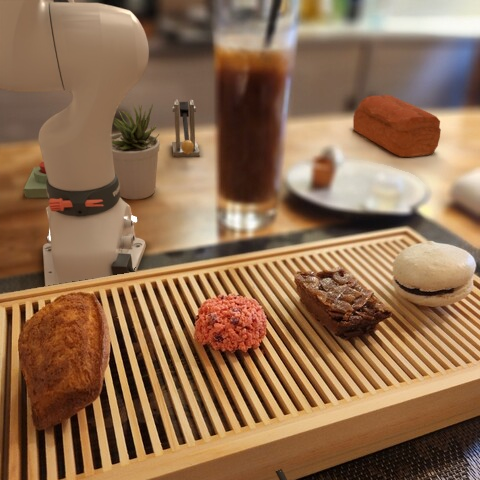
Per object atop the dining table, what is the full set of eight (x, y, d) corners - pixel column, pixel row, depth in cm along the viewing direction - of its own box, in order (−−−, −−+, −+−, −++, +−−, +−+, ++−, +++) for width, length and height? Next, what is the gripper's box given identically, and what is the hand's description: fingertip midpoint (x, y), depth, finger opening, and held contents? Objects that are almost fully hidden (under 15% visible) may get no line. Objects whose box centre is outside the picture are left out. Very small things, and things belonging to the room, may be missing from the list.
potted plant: (107, 208, 101) (92, 112, 88) (107, 182, 111) (94, 92, 98) (165, 205, 103) (159, 110, 90) (160, 179, 113) (154, 91, 100)
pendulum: (199, 156, 126) (198, 106, 118) (173, 156, 125) (170, 106, 117) (197, 145, 132) (196, 97, 124) (172, 146, 131) (169, 97, 123)
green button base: (72, 196, 104) (69, 180, 102) (26, 198, 103) (21, 181, 100) (78, 175, 113) (75, 159, 111) (36, 176, 112) (31, 159, 109)
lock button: (58, 174, 105) (56, 167, 103) (39, 175, 104) (37, 167, 103) (60, 167, 108) (59, 160, 106) (42, 168, 107) (40, 160, 106)
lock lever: (194, 156, 117) (194, 146, 114) (181, 156, 117) (181, 147, 114) (189, 110, 123) (189, 100, 121) (177, 110, 123) (177, 100, 120)
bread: (386, 125, 153) (394, 90, 146) (440, 153, 135) (453, 115, 128) (346, 128, 148) (352, 93, 142) (396, 159, 130) (407, 120, 123)
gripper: (-26, 16, 85) (7, 97, 93) (81, -1, 92) (104, 75, 100) (-27, 19, 90) (4, 96, 98) (75, 3, 97) (97, 76, 105)
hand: (55, 85), depth 99 cm, fingers closed
